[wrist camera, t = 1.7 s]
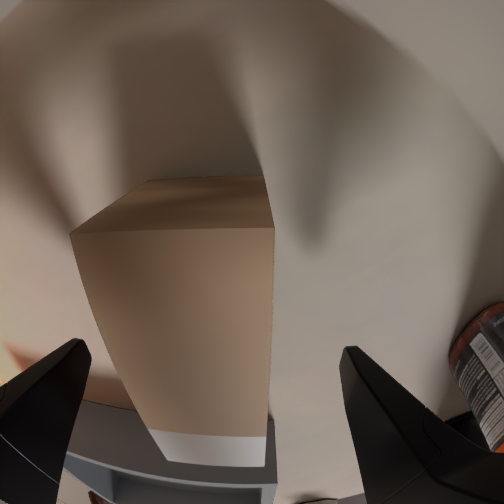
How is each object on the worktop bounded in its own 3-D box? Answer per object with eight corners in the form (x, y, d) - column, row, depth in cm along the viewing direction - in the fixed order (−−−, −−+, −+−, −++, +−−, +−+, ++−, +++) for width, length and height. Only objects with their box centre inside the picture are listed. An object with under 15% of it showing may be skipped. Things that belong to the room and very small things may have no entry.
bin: (274, 420, 15) (277, 483, 11) (266, 491, 23) (267, 524, 19) (41, 387, 15) (19, 429, 11) (117, 473, 23) (110, 502, 19)
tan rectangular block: (263, 175, 9) (274, 227, 5) (262, 379, 14) (264, 466, 9) (148, 180, 9) (69, 233, 5) (184, 377, 14) (167, 460, 9)
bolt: (133, 467, 25) (112, 484, 30) (96, 469, 22) (85, 485, 27) (148, 506, 21) (124, 513, 26) (110, 510, 18) (95, 515, 23)
